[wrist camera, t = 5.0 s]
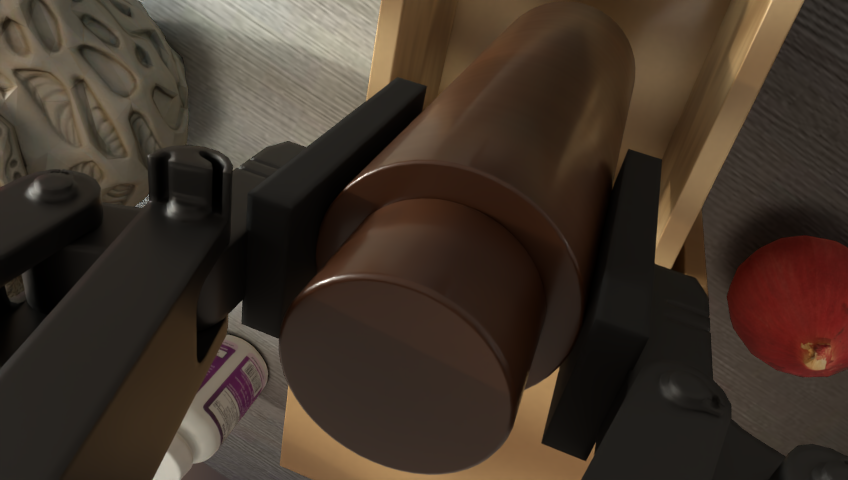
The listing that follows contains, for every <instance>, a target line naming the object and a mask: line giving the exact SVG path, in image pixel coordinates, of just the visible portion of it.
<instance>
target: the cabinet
mask: <svg viewBox="0 0 848 480" xmlns="http://www.w3.org/2000/svg"><path fill="white" fill-rule="evenodd" d="M671 270H674V271H677V272H680V273H683V274H686V275H689V276H692V277H695V278H697V280H698V281H699V283H700V285H701V286H702V288H703V289H704V291H705V292H706V294H707V296H708V288H707V273H706V260H705V247H704V233H703V220H702V208H701V210H700V212H699V214H698V216H697V218H696V220H695V222H694V224H693V226H692V228H691V230H690V232H689V234H688V236H687V238H686V240H685V242H684V244H683V246H682V248H681V250H680V252H679V254H678V256H677V258H676V260H675V262H674V264H673V266H672V268H671ZM708 298H709V297H708ZM558 372H559V368H558V369H556V370H555V371H554V372H553V373H552V374H551V375H550V376H548V377H547V378H546V379H544V380H543V381H541V382H540V383H538V384H536V385H534V386H532V387H530V388H528V389H526V390H524V392H523V396H522V399H521V403H520V406H519V409H518V413H517V416H516V419H515V423H514V426H513V429H512V431H511V433H510V435H509V437H508V439H507V440H506V441H505V442H504V444H503V445H502V446H501V448H500V449H498V450H497V451H496V452H495V453H494V454H493V455H492V456H491V457H489V458H488V459H487V460H485V461H483V462H482V463H480V464H479V465H476V466H474V467H472V468H469V469H467V470H463V471H459V472H456V473H449V474H440V475H426V474H414V473H409V472H403V471H399V470H395V469H391V468H388V467H385V466H382V465H380V464H377V463H374V462H372V461H370V460H368V459H365V458H363V457H361V456H359V455H357V454H356V453H354V452H352V451H350V450H349V449H347V448H345V447H344V446H343V445H341V444H340V443H338V442H337V441H335V440H334V439H333V438H332V437H330V436H329V435H328V434H327V433H326V432H324V431H323V430H322V429H321V428H320V427H319V426H318V425H317V424H316V423H315V422H314V421H313V420H312V419H311V418H310V417H309V415H308V414H307V413H306V412H305V411H304V410H303V408H302V407H301V405H300V404H299V402H298V401H297V400H296V398H295V396H294V395H293V393H292V391H291V389H290V387H289V385H288V394H287V404H286V413H285V422H284V431H283V441H282V450H281V459H280V466H282V467H285V468H287V469H289V470H292V471H294V472H296V473H299V474H301V475H303V476H306V477H308V478H310V479H313V480H581V479H582V477H583V475H584V473H585V472H586V470H587V468H588V466H589V464H590V462H591V461H592V459H593V457H594V452H595V445H596V443H595V445H594V447H593V449H592V451H591V453H590V455H589V457H588V459H587V460H586V461H584V460H581V459H579V458H576V457H574V456H571V455H569V454H566V453H564V452H561V451H559V450H556V449H554V448H551V447H549V446H546V445H544V444H541V442H542V437H543V433H544V429H545V425H546V421H547V417H548V413H549V409H550V404H551V400H552V396H553V392H554V388H555V384H556V380H557V376H558Z"/></svg>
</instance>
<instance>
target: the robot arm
mask: <svg viewBox="0 0 848 480" xmlns="http://www.w3.org/2000/svg"><path fill="white" fill-rule="evenodd" d="M426 89H427V86H425V85H422V84H419V83H415V82H412V81H409V80H406V79H403V78H399V77H397V78H395V79H394V80H393V81H392V82H390V83H389V84H388V85H386V86H385V87H384V88H383V89H381V90H380V91H379V92H377V93H376V94H375V95H374V96H372V97H371V98H370V99H368V100H367V101H366V102H364V103H363V104H362V105H361V106H359V107H358V108H357V109H355V110H354V111H353V112H352V113H350V114H349V115H348V116H346V117H345V118H344V119H343V120H341V121H340V122H339V123H337V124H336V125H335V126H334V127H332V128H331V129H330V130H328V131H327V132H326V133H324V134H323V135H322V136H321V137H319V138H318V139H317V140H315V141H314V142H313V143H312V144H310V145H309V146H308V147H304V146H301V145H298V144H295V143H292V142H289V141H287V142H284V143H280V144H276V145H273V146H269V147H266V148H265V149H263V150H262V151H261V152H259V153H258V154H256V155H255V156H253V157H252V160H250V159H249V160H248V161H246V162H245V163H243V164H242V165H241V166H240V168H236V169H235V170H233V165H232V163H231V162H230V160H229V158H228V157H226V156H225V155H223V154H222V153H220V152H219V151H216V150H213V149H210V148H206V147H201V146H193V145H179V146H169V147H166V148H162V149H158V150H156V151H154V152H153V153H151V154H149V155H148V156H147V165H148V185H149V202H148V203H147V204H146V205H145V206H144V207H143V208H139V207H132V206H125V205H118V204H111V203H104V202H102V196H101V187H100V185H99V184H98V182H97V180H96V179H94V178H92V177H90V176H89V175H87V174H85V173H80V172H76V171H72V170H65V169H62V170H60V169H50V170H47V171H39V172H34V173H31V174H29V175H26V176H23V177H20V178H18V179H16V180H14V181H12V182H10V183H8V184H6V185H4V186H2V187H0V480H153V478H154V476H155V474H156V472H157V470H158V468H159V466H160V464H161V462H162V460H163V458H164V456H165V454H166V452H167V450H168V448H169V446H170V445H171V443H172V441H173V439H174V437H175V435H176V433H177V431H178V429H179V427H180V425H181V423H182V421H183V419H184V417H185V415H186V413H187V411H188V409H189V407H190V405H191V403H192V401H193V400H194V398H195V396H196V394H197V392H198V390H199V388H200V386H201V384H202V382H203V380H204V378H205V376H206V374H207V372H208V370H209V368H210V366H211V364H212V362H213V360H214V358H215V356H216V355H217V353H218V351H219V349H220V347H221V345H222V343H223V341H224V339H225V337H226V333H227V328H228V314H229V313H230V312H231V311H232V310H233V309H234V308H235V307H236V306H237V305H238V304H239V303H240V302H241V301H242V300H243V302H242V324H243V325H246V326H248V327H251V328H253V329H256V330H258V331H261V332H263V333H266V334H268V335H271V336H273V337H276V338H278V339H279V335H280V329H281V324H282V321H283V318H284V315H285V312H286V311H287V309H288V307H289V306H290V304H291V302H292V301H293V300H294V299H295V298H296V297H297V295H298V294H299V293H300V292H301V291H302V290H303V289H304V287H305V286H306V285H307V284H308V283H309V282H310V281H311V279H312V278H313V277H314V276H315V275H316V274H317V270H316V260H315V259H316V243H317V238H318V233H319V228H320V226H321V223H322V220H323V218H324V215H325V213H326V212H327V210H328V208H329V206H330V205H331V203H332V202H333V200H334V199H335V198H336V197H337V195H338V194H339V193H340V192H341V191H342V190H343V189H344V188H345V187H346V186H347V185H348V184H349V183H350V182H351V181H352V180H353V179H354V178H355V177H356V176H357V175H358V174H359V173H360V172H361V171H362V170H363V169H364V168H365V167H366V166H367V165H368V164H369V163H370V162H371V161H372V160H373V159H374V158H375V157H376V156H377V155H378V154H379V153H380V152H382V151H383V150H384V149H385V148H386V147H387V146H388V145H389V144H390V143H391V142H392V141H393V140H394V139H395V138H396V137H397V136H398V135H399V134H400V133H401V132H402V131H403V130H404V129H405V128H406V127H407V126H408V125H409V124H410V123H411V122H412V121H413V120H414V119H415V118H416V117H417V116H418V115H419V114H420V113H421V112H422V109H423V104H424V99H425V94H426ZM661 167H662V159H659V158H656V157H653V156H650V155H647V154H643V153H640V152H637V151H634V150H630V149H628V151H627V153H626V156H625V158H624V161H623V163H622V166H621V168H620V171H619V173H618V176H617V178H616V181H615V183H614V186H613V188H612V191H611V195H610V200H609V205H608V209H607V214H606V219H605V223H604V228H603V233H602V237H601V242H600V247H599V251H598V256H597V261H596V266H595V270H594V275H593V280H592V284H591V289H590V294H589V298H588V303H587V308H586V312H585V317H584V322H583V326H582V328H581V331H580V333H579V336H578V338H577V341H576V343H575V345H574V347H573V349H572V352H571V353H570V355H569V356H568V357H567V358H566V360H565V361H564V362H563V364H562V365H561V366H560V367H559V372H558V376H557V380H556V384H555V388H554V392H553V396H552V400H551V404H550V409H549V413H548V417H547V421H546V425H545V429H544V433H543V437H542V442H541V444H544V445H546V446H549V447H551V448H554V449H556V450H559V451H561V452H564V453H566V454H569V455H571V456H574V457H576V458H579V459H581V460H584V461H586V460H587V459H588V457H589V455H590V453H591V451H592V449H593V447H594V445H595V443H596V445H595V452H594V457H593V459H592V461H591V462H590V464H589V466H588V468H587V470H586V472H585V473H584V475H583V477H582V479H581V480H848V457H847V456H845V455H843V454H841V453H839V452H837V451H835V450H833V449H831V448H826V447H822V446H818V445H814V444H809V445H800V446H797V447H796V448H794V449H793V450H792V451H791V452H790V453H789V454H788V455H787V456H784V455H782V454H781V453H779V452H778V451H776V450H774V449H773V448H771V447H769V446H768V445H766V444H765V443H763V442H761V441H760V440H758V439H756V438H755V437H753V436H752V435H751V434H749V433H748V432H746V431H745V430H744V429H742V428H741V427H740V426H739V425H738V424H737V423H736V422H734V421H733V420H732V419H731V404H730V402H729V400H728V398H727V396H726V394H725V392H724V391H723V390H722V389H721V388H720V387H719V386H718V385H717V383H716V382H715V381H714V380H713V370H712V352H711V334H710V333H709V331H710V318H708V317H709V298H708V296H707V294H706V292H705V291H704V289H703V288H702V286H701V285H700V283H699V281H698V280H697V278H695V277H692V276H689V275H686V274H683V273H680V272H677V271H674V270H671V269H668V268H666V267H663V266H660V265H657V264H655V251H656V237H657V223H658V209H659V195H660V181H661ZM21 274H22V278H23V284H24V289H25V290H24V291H23V292H21V293H20V294H18V295H17V296H14V297H12V298H8V296H7V293H6V288H5V285H6V284H7V283H9V282H10V281H12V280H13V279H15V278H17V277H18V276H20V275H21Z"/></svg>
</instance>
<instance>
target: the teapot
mask: <svg viewBox="0 0 848 480" xmlns="http://www.w3.org/2000/svg"><path fill="white" fill-rule="evenodd" d="M164 38H165V35H164V34H163V32H162V31H161V30H160V28H159V27H158V25H157V24H156V23H155V22H154V21H153V20H152V19H151V18H150V17H149V15H148V13H147V11H146V10H145V8H144V7H143V5H142V4H141V2H139V1H137V0H0V187H2V186H4V185H6V184H8V183H10V182H12V181H14V180H16V179H18V178H20V177H23V176H26V175H29V174H31V173H34V172H39V171H47V170H50V169H60V170H62V169H65V170H72V171H76V172H80V173H85V174H87V175H89V176H90V177H92V178H94V179H96V180H97V182H98V184H99V185H100V187H101V196H102V202H104V203H111V204H118V205H125V206H132V207H134V206H136V205H137V204H138V203H140V202H141V201H142V200H143V199H145V197H146V196H147V195H148V194H149V185H148V165H147V156H148V155H149V154H151V153H153V152H154V151H156V150H158V149H162V148H166V147H169V146H179V145H186V143H187V138H188V122H189V110H188V87H187V84H186V79H185V69H184V63H183V58H182V57H181V56H180V55H179V54H178V53H177V52H176V51H174V50H173V49H172V48H171V47H170V46H169V45H168V43H167V42H166V40H165V39H164ZM5 288H6V293H7V296H8V298H12V297H14V296H17V295H18V294H20V293H21V292H23V291H24V290H25V289H24V284H23V278H22V274H21V275H20V276H18V277H17V278H15V279H13V280H12V281H10V282H9V283H7V284H6V285H5Z"/></svg>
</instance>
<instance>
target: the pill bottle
mask: <svg viewBox="0 0 848 480" xmlns="http://www.w3.org/2000/svg"><path fill="white" fill-rule="evenodd" d="M267 380H268V370H267V366H266V363H265V362H264V360H263V358H262V357H261V355H260V354H259V353H258V351H257V350H256V349H255V348H254V347H253V346H252V345H251V344H249V343H248V342H246V341H245V340H243V339H241V338H238V337H235V336H232V335H226V337H225V339H224V341H223V343H222V345H221V347H220V349H219V351H218V353H217V355H216V356H215V358H214V360H213V362H212V364H211V366H210V368H209V370H208V372H207V374H206V376H205V378H204V380H203V382H202V384H201V386H200V388H199V390H198V392H197V394H196V396H195V398H194V400H193V401H192V403H191V405H190V407H189V409H188V411H187V413H186V415H185V417H184V419H183V421H182V423H181V425H180V427H179V429H178V431H177V433H176V435H175V437H174V439H173V441H172V443H171V445H170V446H169V448H168V450H167V452H166V454H165V456H164V458H163V460H162V462H161V464H160V466H159V468H158V470H157V472H156V474H155V476H154V478H153V480H181V479H182V478H183V477H184V475H185V474H186V473H187V472H188V471H189V470H190V468H191V467H192V464H193V463H200V462H203V461H205V460H207V459H209V458H210V457H211V456H212V455H214V453H215V452H216V451H217V450H218V449H219V447H220V446H221V445H222V443H223V442H224V441H225V439H226V438H227V437H228V435H229V434H230V433H231V431H232V430H233V429H234V427H235V426H236V425H237V423H238V422H239V421H240V419H241V418H242V417H243V415H244V414H245V413H246V411H247V410H248V409H249V407H250V406H251V405H252V404H253V402H254V401H255V400H256V398H257V397H258V395H259V394H260V393H261V392H262V390H263V389H264V387H265V385H266V383H267Z"/></svg>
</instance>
